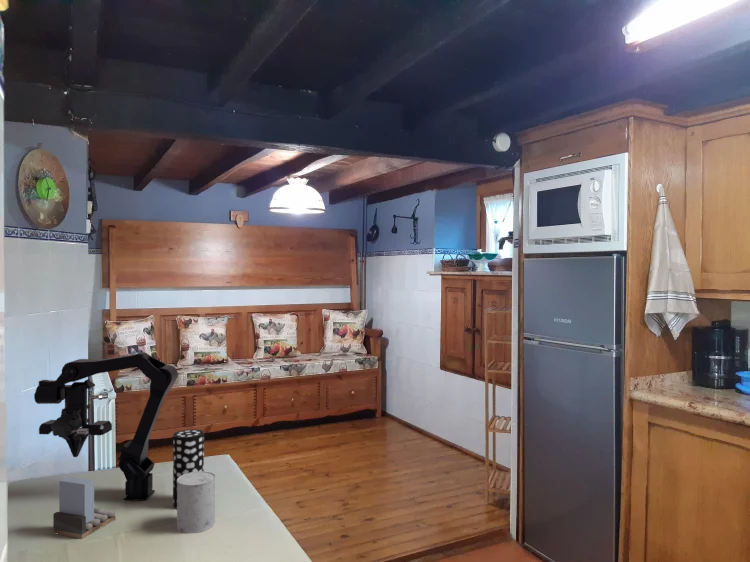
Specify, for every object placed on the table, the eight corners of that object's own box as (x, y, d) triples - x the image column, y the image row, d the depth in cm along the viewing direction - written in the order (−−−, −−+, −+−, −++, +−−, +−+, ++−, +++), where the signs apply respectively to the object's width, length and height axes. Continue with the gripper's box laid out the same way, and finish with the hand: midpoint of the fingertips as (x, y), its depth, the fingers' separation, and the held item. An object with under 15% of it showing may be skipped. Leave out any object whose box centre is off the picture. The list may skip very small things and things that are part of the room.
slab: (69, 515, 140) (69, 476, 140) (94, 519, 137) (94, 480, 137) (59, 520, 137) (59, 480, 137) (84, 524, 135) (84, 484, 135)
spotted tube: (209, 499, 157) (209, 431, 157) (191, 511, 149) (191, 439, 149) (185, 495, 160) (186, 428, 160) (166, 506, 152) (166, 436, 152)
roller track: (88, 514, 146) (88, 496, 146) (115, 519, 144) (115, 500, 144) (53, 533, 136) (53, 513, 136) (81, 538, 133) (82, 518, 133)
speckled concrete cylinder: (179, 536, 135) (179, 487, 135) (174, 521, 143) (174, 474, 143) (218, 528, 139) (218, 481, 139) (211, 513, 148) (211, 469, 148)
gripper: (25, 409, 149) (25, 465, 150) (92, 410, 149) (91, 467, 149) (51, 400, 161) (51, 452, 161) (113, 401, 160) (112, 454, 160)
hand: (75, 456), depth 157 cm, fingers closed
